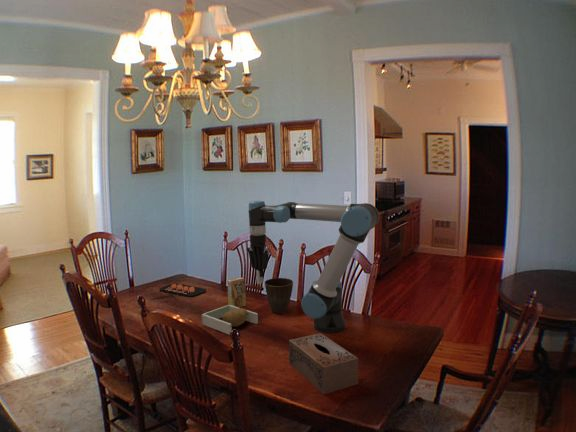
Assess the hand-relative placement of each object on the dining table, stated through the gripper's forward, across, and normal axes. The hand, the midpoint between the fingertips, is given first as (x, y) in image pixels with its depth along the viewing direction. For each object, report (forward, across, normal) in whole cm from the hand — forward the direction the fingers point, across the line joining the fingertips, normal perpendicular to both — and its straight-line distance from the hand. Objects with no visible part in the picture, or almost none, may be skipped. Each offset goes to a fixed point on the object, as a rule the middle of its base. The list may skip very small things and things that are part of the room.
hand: (259, 283), depth 208 cm
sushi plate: (+21, -76, +7) cm, 80 cm away
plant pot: (+22, -6, +22) cm, 31 cm away
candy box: (+21, -30, +14) cm, 39 cm away
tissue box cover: (+23, +48, -20) cm, 57 cm away
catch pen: (+21, -16, -6) cm, 27 cm away
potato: (+22, -12, -6) cm, 25 cm away
